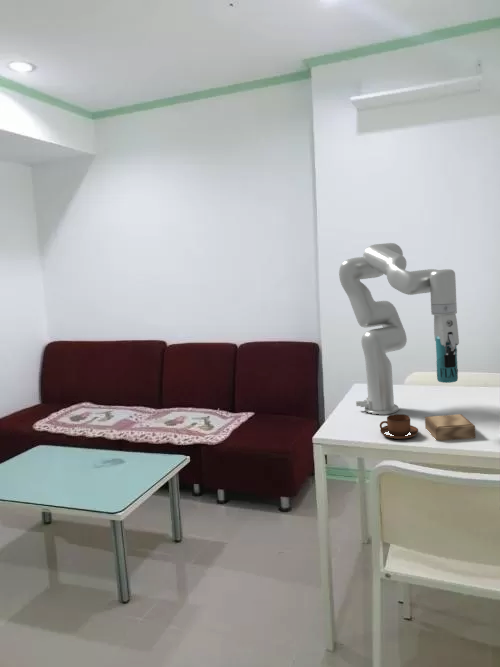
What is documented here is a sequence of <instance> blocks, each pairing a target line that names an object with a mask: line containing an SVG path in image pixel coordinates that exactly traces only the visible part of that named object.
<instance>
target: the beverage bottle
mask: <svg viewBox="0 0 500 667" xmlns="http://www.w3.org/2000/svg"><path fill="white" fill-rule="evenodd" d="M435 339H436V341H435V350H436V351H435V352H436V362H435V365H436V378H437V379H436V380H437V382H439V383H444V384H445V383H447V384H448V383H456V382H457V381H458V378H459V376H458V375H459V369H458V347H457V346H458V345H456V347H455V362H456V366H455V367H450V368H446V367H445V363H444V355H445V350H444V346H442V345H441V342H440V338H439V337H438V336H436V337H434V340H435ZM446 345H450V343H446ZM448 348H449V347H447V350H448Z"/></svg>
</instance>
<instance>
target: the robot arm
mask: <svg viewBox="0 0 500 667" xmlns="http://www.w3.org/2000/svg"><path fill="white" fill-rule="evenodd" d="M362 254H363V255H362V256H359V257H352V258H348V259H346V260H345V261H343V262H342V263H341V264H340V266H339V271H338V277H339V281H340V285H341V287H342V288H343V290H344V292H345V293H346V295H347V298H348V300H349V302H350V305H351V308H352V311H353V314H354V316H355V318H356V321H357V323H358V325H359V326H360V327H362V328H366V329H367V328H373V327H378V328H373V329H370V330H367V331H366V332H364V333H363V335H362V337H361V342H360V343H361V346H362V350H363V355H364V361H365V371H366V372H365V373H366V387H367V388H366V389H367V397H365V398H366V399H364V400H358V401H355V406H356V407H360V408H364V412H366V413H367V412H368V414H370V413H372V414H371V415H376V414H379V416H380V415H381V416H382V415H384V416H385V415H393V414H396V413H397V412H398V411H399V406H398V405H397V404H396V403H395V401H394V400H395V399H394V383H393V382H394V381H393V369H392V362H391V360H390V358H389V357H388V355H387V353H390V352H396V351H399V350H402V349H404V348H405V346H407V345H406V344H407V343H408V342H407V340H408V339H407V333H406V331H405V329H404V325H403V323H402V321H401V320H402V319H401V317H400V316H399V313H398V310H397V308H396V307H395V305H394V304H393V303H392V302H390V301H388V300H378V301H375V300H374V297H373V295H372V292H371V291H370V289H369V288H368V287H367V285H366V284H365V283H363V282H362V281H361V280H367V279H375V278H378V277H381V276H384V275H385V276H386V279H387V281H388V283H389V285H390V287H392V288H393V289H394V290H396V291H398V292H401V293H402V294H405V295H408V296H413V295H420V294H429V293H430V294H429V295H430V309H431V310H430V311H431V315H432V316H433V335H434V341H435V342H436V339H435V337H436V336H438V337H439V338H440V342H441V345H442V346H444V350H445V355H444V363H445V367H446V368H450V367H455V366H456V362H455V347H456V346H458V345H459V344H460V339H459V328H458V319H457V315H456V314H457V313H458V303H457V288H456V287H457V286H456V285H457V284H456V283H457V282H456V272H455V271H454V269H449V268H448V269H434V268H429V269H428V268H427V269H419V270H411V271H409V270H406V268H407V259H406V257H405V256H404V252H403V249H402V248H401V246H400V245H398V243H397V244H396V243H395V242H387V243H377V244H376V243H375V244H371V245H370V246H368V247H366V248H365V249H364V252H363V253H362ZM446 343H450V345H446ZM447 347H449V348H448V350H447ZM456 348H457V347H456Z"/></svg>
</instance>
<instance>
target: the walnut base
mask: <svg viewBox="0 0 500 667" xmlns="http://www.w3.org/2000/svg"><path fill="white" fill-rule="evenodd" d="M424 426H425V430H426V429H427V430H428V431H429V432H430V433H431V434H430V433H429V432H428V431H427V430H426V431H427V432H428V433H429V434H430V435H431V437H432V438H433V437H434V438H435V439H436V440H441V441H451V440H452V441H453V440H466V439H476V425H475V424H474V423H473V422H471V421H470V420H469V419H468V418H466V417H465V416H464V415H463V414H462V413H461V414H448V415H447V414H446V415H445V414H444V415H433V416H424ZM434 438H433V439H434ZM435 439H434V440H435ZM436 440H435V441H436Z"/></svg>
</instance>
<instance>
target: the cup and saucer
mask: <svg viewBox="0 0 500 667" xmlns="http://www.w3.org/2000/svg"><path fill="white" fill-rule="evenodd" d="M383 424H386V425H384V426H383ZM382 426H383V427H382ZM379 428H380V433H381V434H382V436H385V437H386V438H390V439H393V438H394V439H395V440H403V439H404V440H405V439H406V440H407V439H410V438H413V437H415V436H416V435H417V434H418V433H419V428H418V427H416V426H413V425H412V424H411V417H410V416H409V415H407V414H403V413H402V414H401V413H400V414H399V413H398V414H397V413H393V414H389V415H387V417H386V420H384V421H381V422H380V423H379ZM388 431H389V433H390V434H392V435H394V436H390V435H386V434H384V433H385V432H388ZM409 432H410V433H411V435H408V436H405V435H407V434H408V433H409Z"/></svg>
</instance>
